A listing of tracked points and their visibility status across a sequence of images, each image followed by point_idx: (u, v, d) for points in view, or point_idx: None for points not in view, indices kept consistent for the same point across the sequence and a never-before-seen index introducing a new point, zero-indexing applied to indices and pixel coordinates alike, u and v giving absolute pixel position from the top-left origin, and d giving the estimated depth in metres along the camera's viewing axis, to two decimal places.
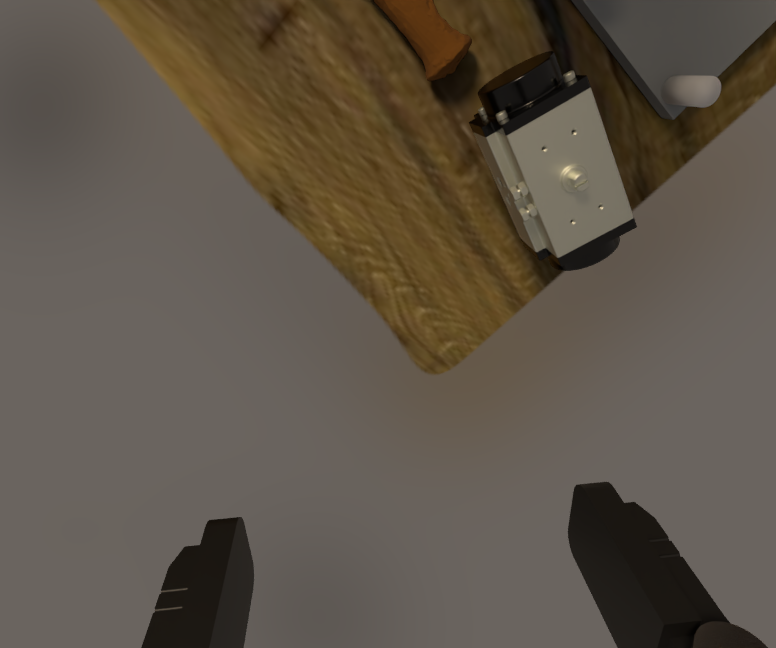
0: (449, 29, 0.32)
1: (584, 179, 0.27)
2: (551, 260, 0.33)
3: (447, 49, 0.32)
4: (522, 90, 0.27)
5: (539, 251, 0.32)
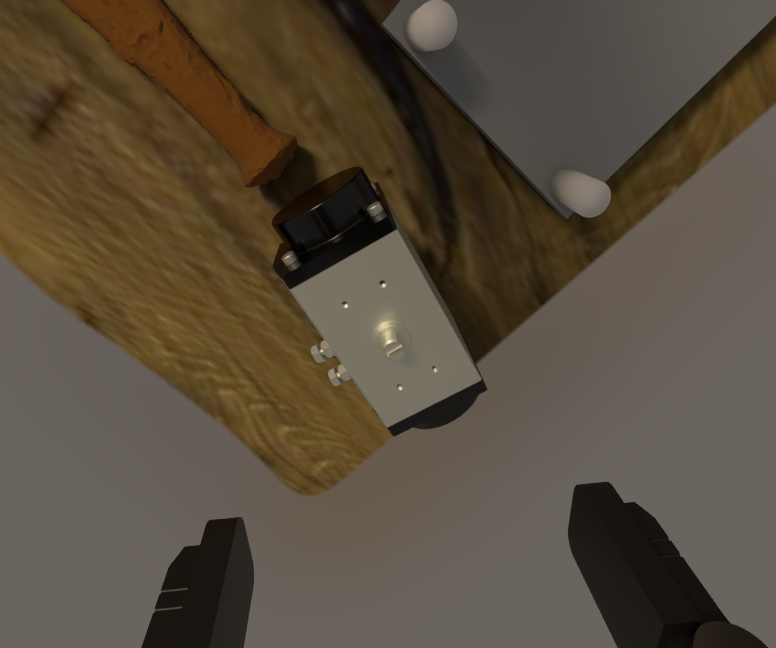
0: (260, 130, 0.25)
1: (397, 346, 0.20)
2: None
3: (258, 156, 0.25)
4: (311, 229, 0.20)
5: None
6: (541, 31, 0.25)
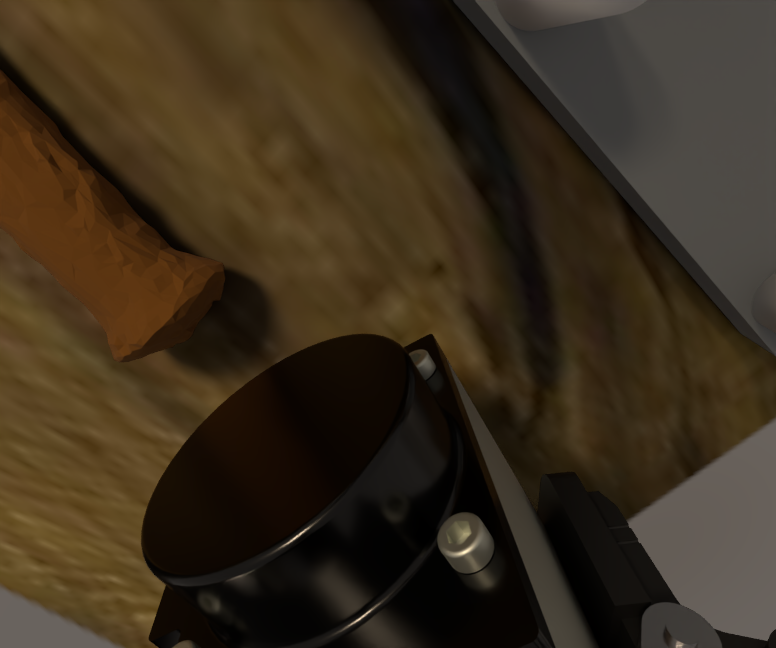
0: (139, 262, 0.12)
1: None
2: None
3: (133, 316, 0.12)
4: (246, 613, 0.06)
5: None
6: None
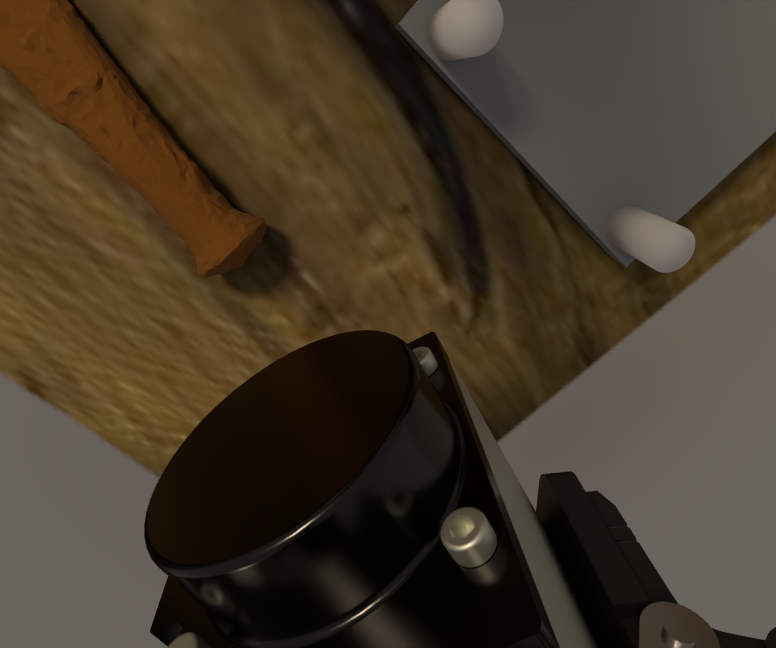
0: (220, 214, 0.20)
1: None
2: None
3: (215, 245, 0.20)
4: (250, 605, 0.06)
5: None
6: (604, 33, 0.19)
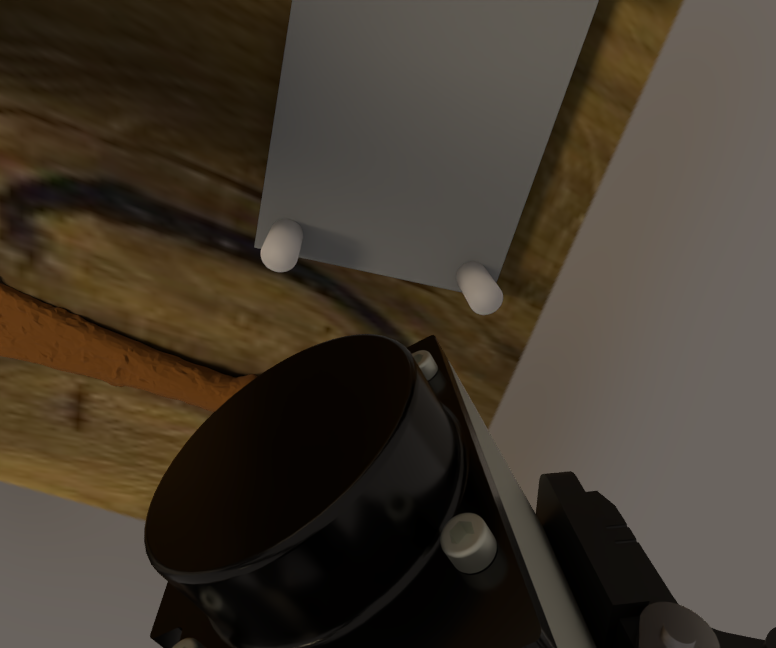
0: (224, 390, 0.32)
1: None
2: None
3: None
4: (249, 612, 0.06)
5: None
6: (378, 183, 0.28)
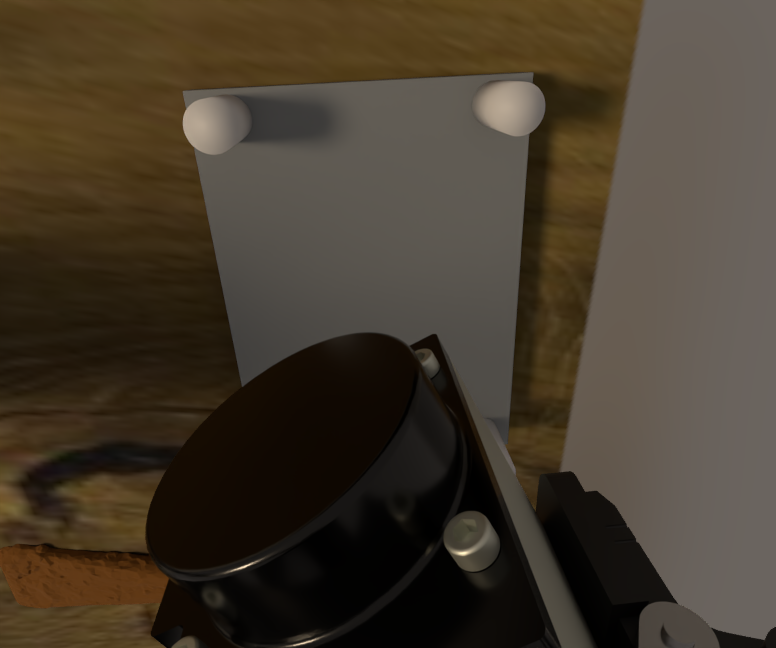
0: None
1: None
2: None
3: None
4: (252, 608, 0.06)
5: None
6: None
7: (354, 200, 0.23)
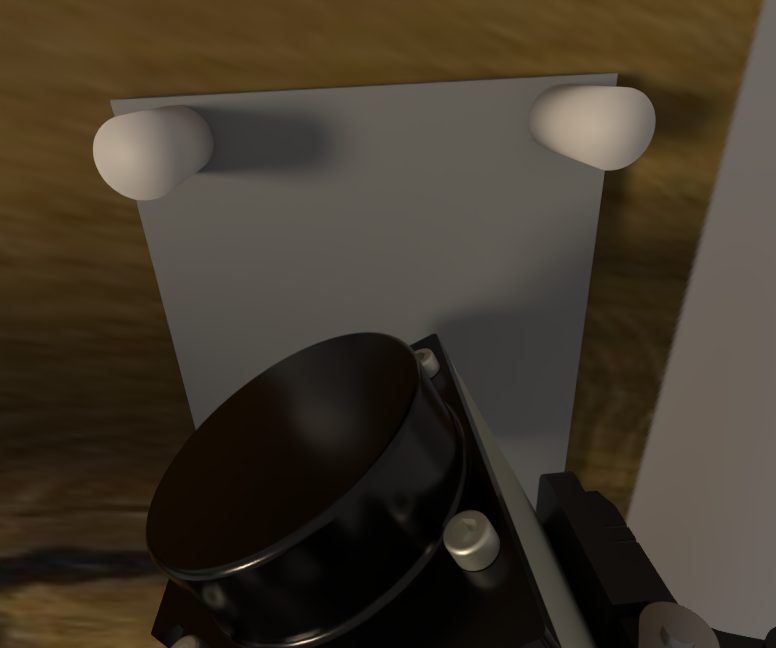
0: None
1: None
2: None
3: None
4: (253, 608, 0.06)
5: None
6: None
7: (359, 250, 0.16)
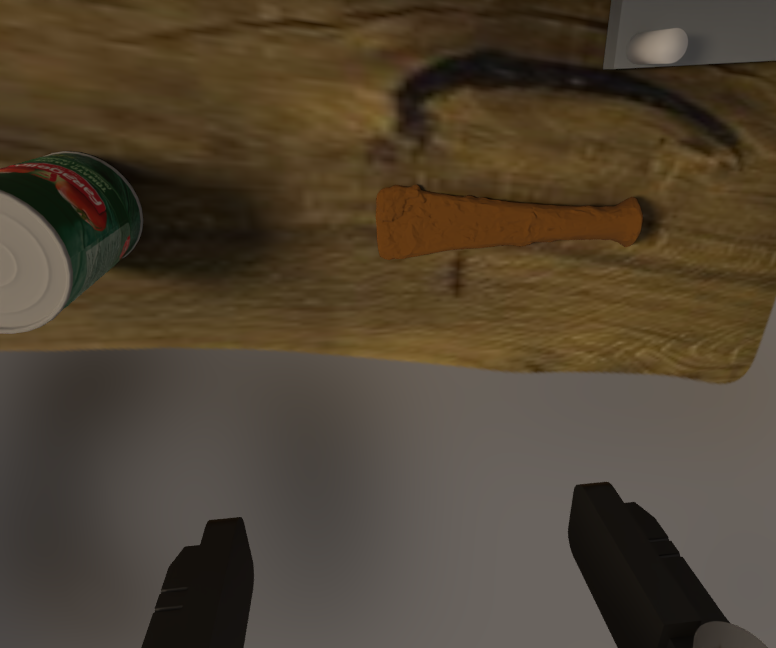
0: (619, 213, 0.37)
1: None
2: None
3: (631, 226, 0.37)
4: None
5: None
6: None
7: None
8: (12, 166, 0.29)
